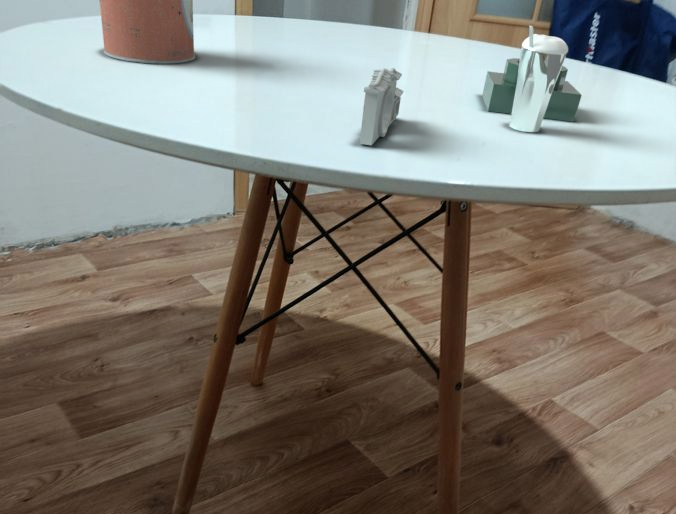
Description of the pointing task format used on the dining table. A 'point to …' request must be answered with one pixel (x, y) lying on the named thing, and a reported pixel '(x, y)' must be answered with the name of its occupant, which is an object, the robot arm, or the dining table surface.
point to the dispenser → (503, 90)
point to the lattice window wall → (380, 105)
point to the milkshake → (536, 79)
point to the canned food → (148, 30)
